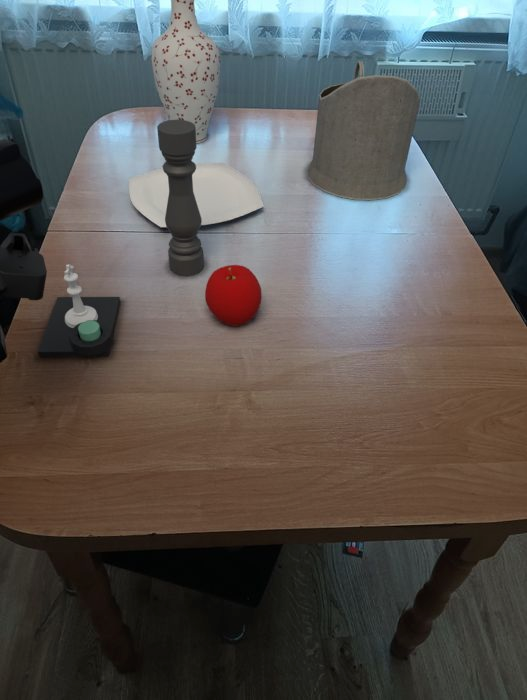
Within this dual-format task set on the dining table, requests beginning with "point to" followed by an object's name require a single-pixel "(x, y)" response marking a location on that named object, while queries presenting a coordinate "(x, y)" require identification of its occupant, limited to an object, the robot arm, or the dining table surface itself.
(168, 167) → the candle holder
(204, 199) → the plate
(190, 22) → the vase
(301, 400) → the dining table surface
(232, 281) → the fruit
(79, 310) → the chess piece
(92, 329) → the button
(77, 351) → the black button base
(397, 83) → the pitcher
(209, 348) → the dining table surface
